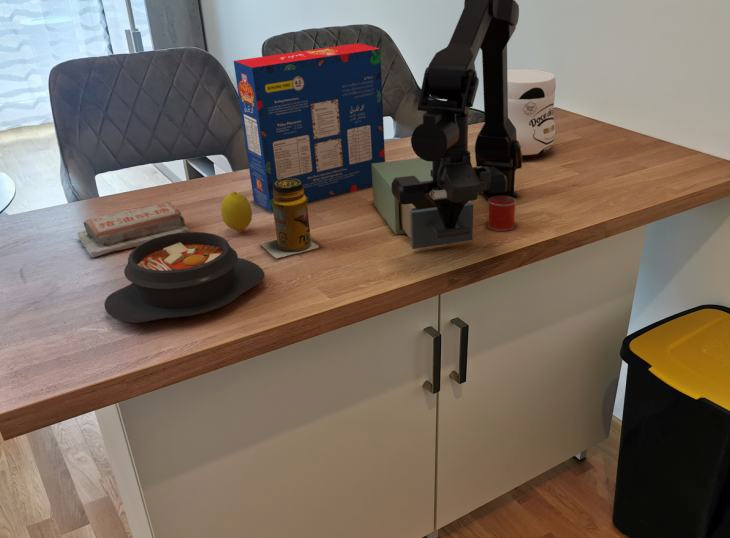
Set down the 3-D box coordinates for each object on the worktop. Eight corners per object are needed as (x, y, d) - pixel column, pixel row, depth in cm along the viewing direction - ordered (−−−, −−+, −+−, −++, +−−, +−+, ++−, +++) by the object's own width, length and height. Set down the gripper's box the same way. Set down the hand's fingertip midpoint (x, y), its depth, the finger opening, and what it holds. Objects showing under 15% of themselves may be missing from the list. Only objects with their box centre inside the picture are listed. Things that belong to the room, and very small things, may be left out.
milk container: (558, 163, 171) (565, 83, 161) (484, 163, 171) (487, 84, 161) (548, 141, 185) (554, 67, 176) (481, 141, 186) (483, 68, 176)
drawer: (484, 252, 127) (485, 216, 123) (422, 262, 124) (422, 225, 121) (444, 210, 144) (444, 176, 141) (389, 217, 141) (387, 183, 138)
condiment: (319, 248, 132) (313, 184, 125) (276, 259, 128) (267, 194, 121) (302, 234, 137) (295, 173, 130) (260, 245, 133) (251, 182, 127)
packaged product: (168, 195, 142) (186, 211, 135) (173, 218, 144) (191, 235, 137) (71, 216, 133) (84, 234, 126) (78, 240, 136) (91, 259, 129)
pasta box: (366, 173, 166) (358, 43, 151) (386, 182, 160) (380, 48, 146) (253, 201, 152) (233, 60, 137) (271, 212, 146) (252, 67, 131)
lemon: (259, 228, 140) (254, 188, 135) (244, 239, 135) (238, 198, 131) (235, 224, 141) (228, 185, 137) (219, 235, 137) (212, 195, 133)
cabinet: (458, 225, 140) (459, 182, 135) (395, 234, 136) (394, 191, 132) (431, 196, 153) (431, 156, 148) (373, 204, 150) (371, 163, 145)
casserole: (133, 349, 103) (119, 297, 99) (90, 301, 115) (76, 253, 111) (287, 295, 116) (281, 247, 112) (234, 257, 129) (226, 212, 124)
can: (507, 219, 142) (509, 194, 139) (518, 229, 138) (520, 203, 135) (483, 222, 141) (484, 197, 138) (493, 232, 137) (494, 206, 134)
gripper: (409, 163, 108) (411, 259, 116) (523, 151, 113) (517, 243, 121) (389, 143, 117) (392, 233, 125) (496, 132, 122) (492, 219, 130)
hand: (449, 232), depth 125 cm, fingers closed, pressing on drawer
